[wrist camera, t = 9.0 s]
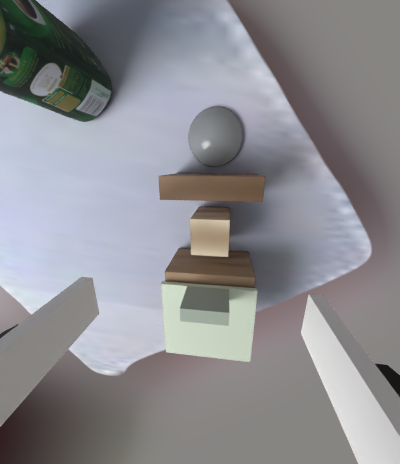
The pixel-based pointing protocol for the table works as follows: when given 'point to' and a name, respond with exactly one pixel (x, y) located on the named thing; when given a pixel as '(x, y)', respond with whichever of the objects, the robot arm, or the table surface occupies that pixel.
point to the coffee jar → (49, 63)
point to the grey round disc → (215, 136)
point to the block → (210, 231)
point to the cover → (209, 320)
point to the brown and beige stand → (212, 189)
